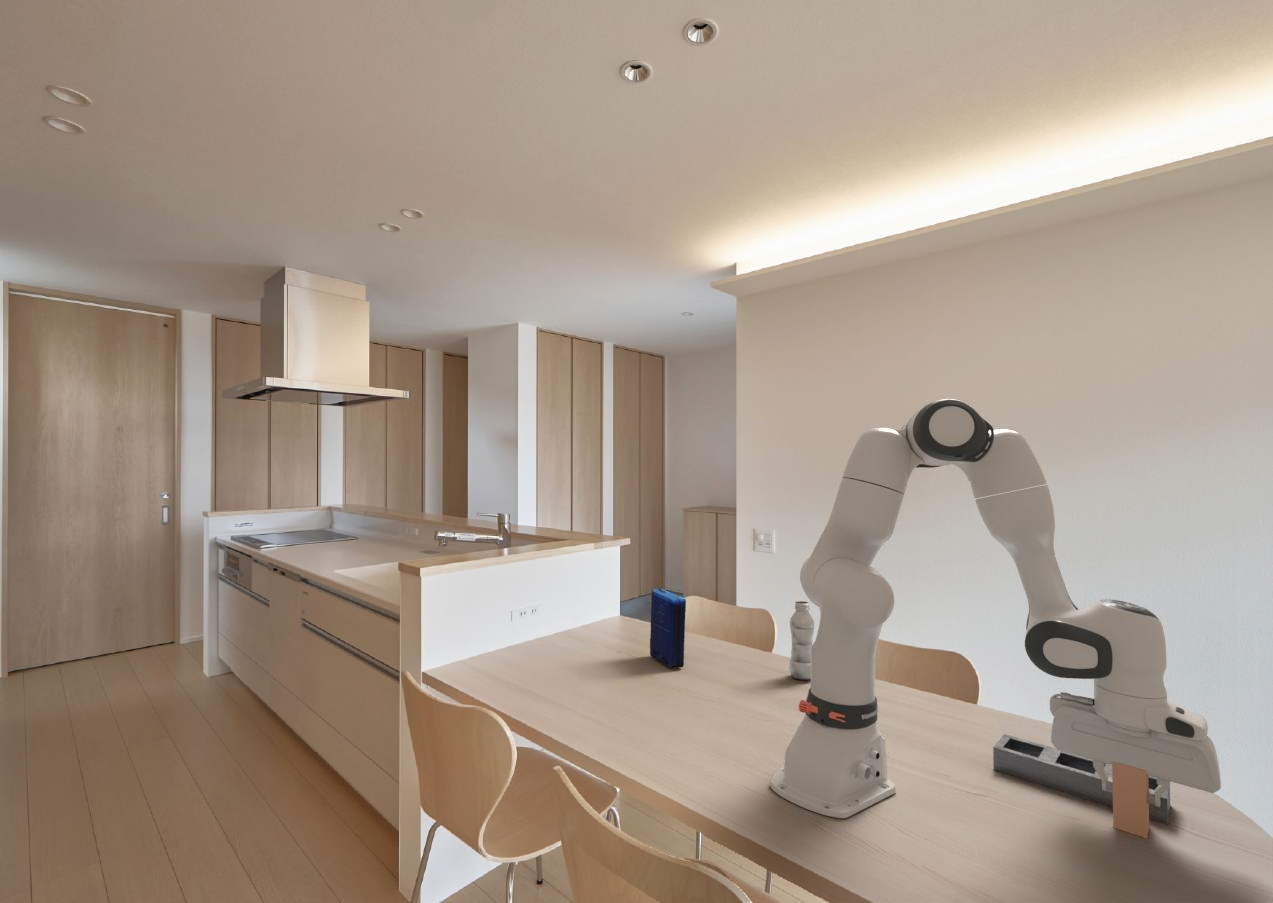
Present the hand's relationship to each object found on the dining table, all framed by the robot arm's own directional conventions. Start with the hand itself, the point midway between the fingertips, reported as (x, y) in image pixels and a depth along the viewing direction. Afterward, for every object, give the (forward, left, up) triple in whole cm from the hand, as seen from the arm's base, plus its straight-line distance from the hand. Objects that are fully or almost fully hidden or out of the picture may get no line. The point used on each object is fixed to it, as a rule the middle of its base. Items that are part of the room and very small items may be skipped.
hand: (1130, 797), depth 92 cm
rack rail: (+9, +8, -5) cm, 13 cm away
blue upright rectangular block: (+6, +102, -5) cm, 102 cm away
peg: (0, 0, -5) cm, 5 cm away
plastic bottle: (+23, +69, -5) cm, 73 cm away
